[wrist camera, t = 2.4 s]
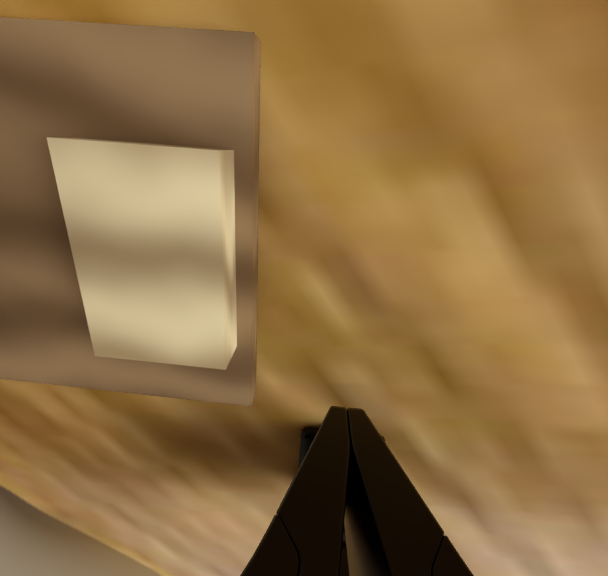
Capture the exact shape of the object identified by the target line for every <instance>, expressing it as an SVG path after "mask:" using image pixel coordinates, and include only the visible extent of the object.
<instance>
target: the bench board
mask: <svg viewBox="0 0 608 576" xmlns="http://www.w3.org/2000/svg"><path fill="white" fill-rule="evenodd" d="M259 108H260V41H259V39H258V38H257V36H256V35H255V33H254V32H240V31H223V30H207V29H190V28H173V27H157V26H140V25H123V24H107V23H90V22H73V21H56V20H40V19H23V18H6V17H0V379H8V380H17V381H26V382H35V383H44V384H53V385H62V386H71V387H80V388H89V389H98V390H107V391H116V392H125V393H135V394H144V395H153V396H162V397H171V398H180V399H189V400H198V401H207V402H216V403H225V404H234V405H243V406H252V403H253V400H254V397H255V393H256V344H257V265H258V187H259ZM47 137H53V138H85V139H98V140H111V141H124V142H138V143H151V144H164V145H177V146H190V147H203V148H217V149H230V150H234V190H235V255H236V321H237V347H236V349H235V351H234V353H233V356H232V358H231V360H230V362H229V364H228V366H227V368H226V370H223V369H213V368H204V367H194V366H185V365H175V364H166V363H157V362H147V361H138V360H128V359H119V358H109V357H100V356H95V354H94V350H93V345H92V341H91V336H90V332H89V327H88V323H87V318H86V314H85V309H84V305H83V300H82V296H81V291H80V287H79V282H78V278H77V273H76V268H75V264H74V259H73V255H72V250H71V246H70V241H69V237H68V232H67V228H66V223H65V219H64V214H63V210H62V205H61V201H60V196H59V192H58V187H57V183H56V178H55V174H54V169H53V165H52V160H51V156H50V151H49V147H48V142H47Z"/></svg>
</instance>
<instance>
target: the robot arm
mask: <svg viewBox="0 0 608 576" xmlns="http://www.w3.org/2000/svg"><path fill="white" fill-rule="evenodd" d="M308 434H309V435H308ZM240 576H474V575H473V574H472V573H471V571H470V570H469V568H468V567H467V565H466V564H465V562H464V561H463V560H462V558H461V557H460V555H459V554H458V552H457V551H456V549H455V548H454V546H453V545H452V543H451V541H450V540H449V538H448V537H447V536H444V531H443V530H442V528H441V527H440V525H439V524H438V522H437V520H436V519H435V517H434V516H433V514H432V513H431V511H430V510H429V508H428V507H427V505H426V504H425V502H424V501H423V499H422V498H421V496H420V495H419V493H418V492H417V490H416V489H415V487H414V486H413V484H412V483H411V481H410V480H409V478H408V477H407V475H406V474H405V472H404V470H403V469H402V467H401V466H400V464H399V463H398V461H397V460H396V458H395V457H394V455H393V454H392V452H391V451H390V449H389V448H388V446H387V445H386V443H385V439H384V437H382V436H380V434H379V433H378V431H377V430H376V428H375V427H374V425H373V424H372V422H371V420H370V419H369V417H368V416H367V414H366V413H365V411H364V410H362V409H358V408H348V409H346V408H345V407H339V406H331V407H330V409H329V411H328V413H327V415H326V417H325V418H324V420H323V422H322V424H321V426H320V428H319V429H318V428H309V427H307V428H304V429H303V430H302V435H301V446H300V458H299V469H298V471H297V473H296V475H295V477H294V479H293V481H292V483H291V485H290V487H289V489H288V491H287V493H286V495H285V497H284V499H283V500H282V502H281V504H280V506H279V508H278V510H277V513H276V515H275V516H274V518H273V520H272V521H271V523H270V525H269V527H268V529H267V531H266V533H265V535H264V537H263V538H262V540H261V542H260V544H259V546H258V547H257V549H256V551H255V553H254V555H253V556H252V558H251V559H250V561H249V563H248V564H247V566H246V567H245V569H244V571H243V572H242V574H241V575H240Z"/></svg>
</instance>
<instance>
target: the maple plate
mask: <svg viewBox="0 0 608 576" xmlns="http://www.w3.org/2000/svg"><path fill="white" fill-rule="evenodd" d="M47 142H48V147H49V151H50V156H51V160H52V165H53V169H54V174H55V178H56V183H57V187H58V192H59V196H60V201H61V205H62V210H63V214H64V219H65V223H66V228H67V232H68V237H69V241H70V246H71V250H72V255H73V259H74V264H75V268H76V273H77V278H78V282H79V287H80V291H81V296H82V300H83V305H84V309H85V314H86V318H87V323H88V327H89V332H90V336H91V341H92V345H93V350H94V354H95V356H100V357H109V358H119V359H128V360H138V361H147V362H157V363H166V364H175V365H185V366H194V367H204V368H213V369H223V370H226V368H227V366H228V364H229V362H230V360H231V358H232V356H233V353H234V351H235V349H236V347H237V321H236V255H235V190H234V150H230V149H217V148H203V147H190V146H177V145H164V144H151V143H138V142H124V141H111V140H98V139H85V138H53V137H47Z"/></svg>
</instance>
